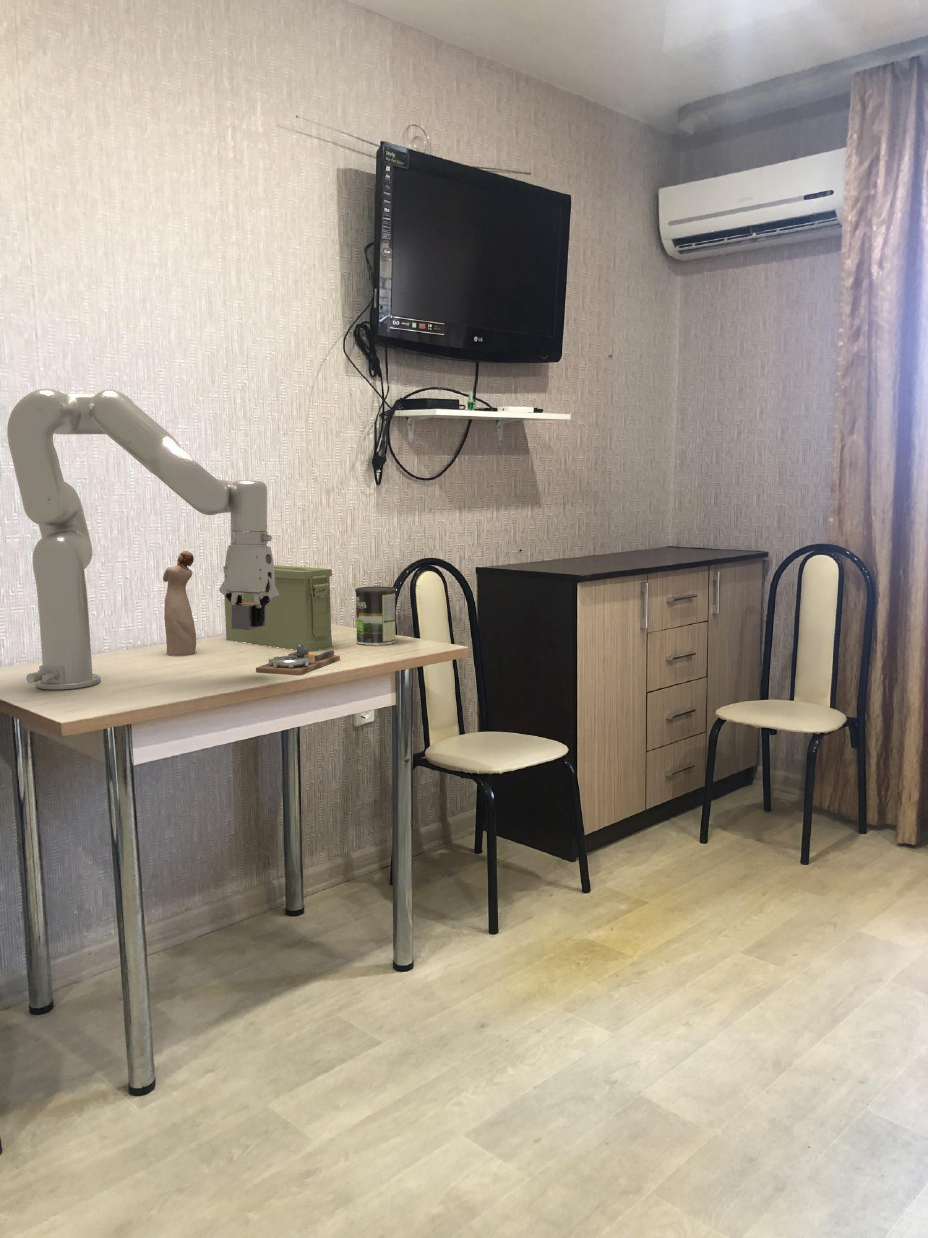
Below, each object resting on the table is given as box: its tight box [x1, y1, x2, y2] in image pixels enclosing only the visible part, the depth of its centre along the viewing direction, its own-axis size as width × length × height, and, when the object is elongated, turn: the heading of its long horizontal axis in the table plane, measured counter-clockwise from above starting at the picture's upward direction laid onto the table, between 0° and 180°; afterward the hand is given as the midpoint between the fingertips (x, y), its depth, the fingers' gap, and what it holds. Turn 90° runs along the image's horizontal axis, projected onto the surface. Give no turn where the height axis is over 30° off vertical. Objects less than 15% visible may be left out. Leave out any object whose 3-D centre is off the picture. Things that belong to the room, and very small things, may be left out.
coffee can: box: [354, 586, 397, 646], centre depth 255 cm, size 10×10×14 cm
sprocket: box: [268, 644, 313, 667], centre depth 220 cm, size 10×10×4 cm
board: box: [255, 649, 341, 676], centre depth 225 cm, size 19×11×2 cm, turn 160°
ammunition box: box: [223, 564, 334, 653], centre depth 254 cm, size 10×33×20 cm, turn 52°
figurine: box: [162, 550, 197, 657], centre depth 241 cm, size 8×8×25 cm
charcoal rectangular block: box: [232, 602, 266, 630], centre depth 211 cm, size 7×4×5 cm, turn 161°
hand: (248, 624), depth 211 cm, fingers closed on charcoal rectangular block, 4 cm apart
